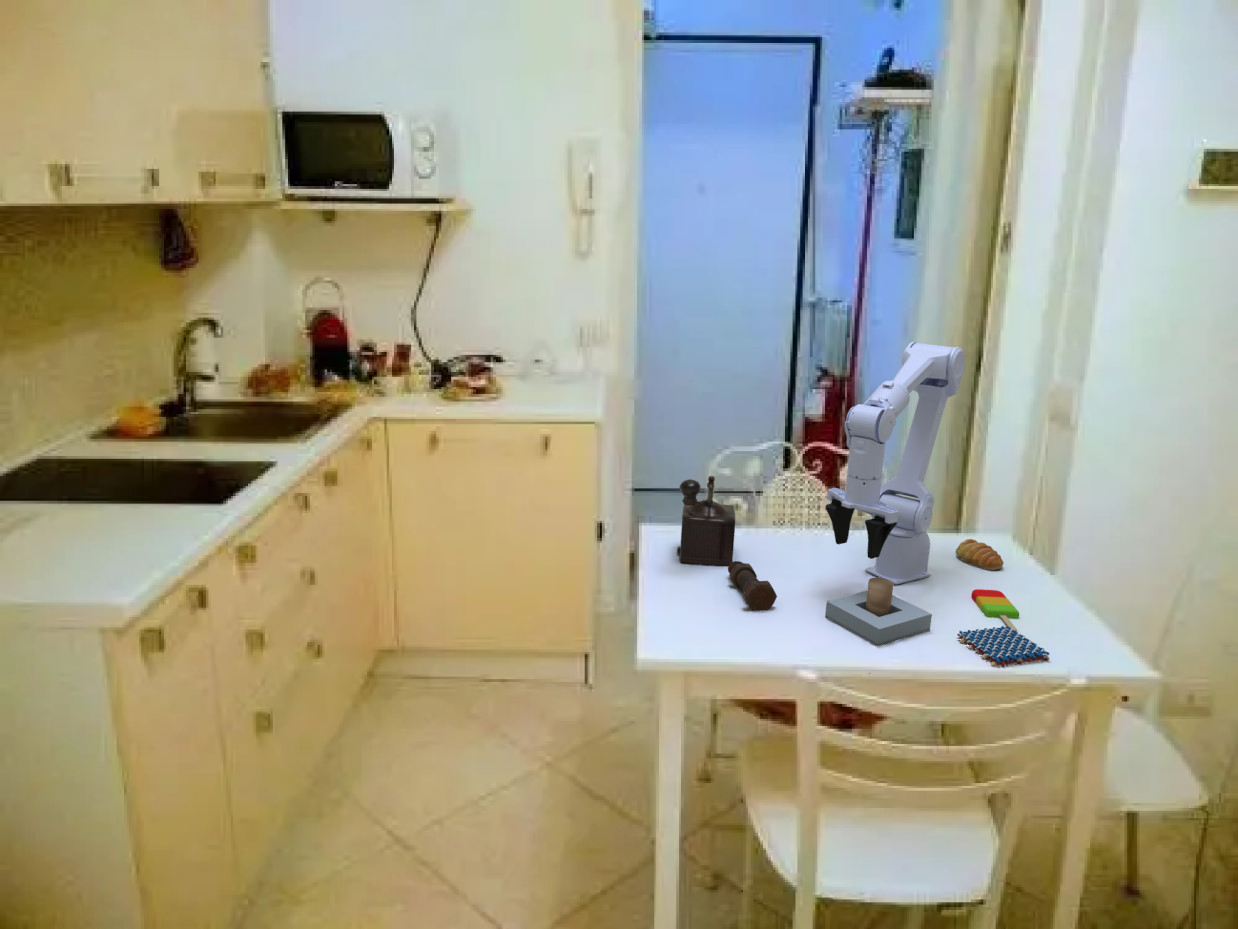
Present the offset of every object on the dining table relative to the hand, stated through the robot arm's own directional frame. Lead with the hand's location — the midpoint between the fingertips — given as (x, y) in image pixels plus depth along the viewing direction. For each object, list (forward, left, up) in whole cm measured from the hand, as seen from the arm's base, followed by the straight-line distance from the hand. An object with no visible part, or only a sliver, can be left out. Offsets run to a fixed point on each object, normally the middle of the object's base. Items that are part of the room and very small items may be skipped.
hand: (857, 550), depth 158 cm
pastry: (-37, -3, -10) cm, 38 cm away
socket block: (+3, +9, -10) cm, 13 cm away
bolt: (+14, -12, -10) cm, 21 cm away
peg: (+3, +9, -9) cm, 13 cm away
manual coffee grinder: (+12, -28, -10) cm, 32 cm away
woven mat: (-8, +25, -11) cm, 28 cm away
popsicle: (-19, +16, -11) cm, 27 cm away
